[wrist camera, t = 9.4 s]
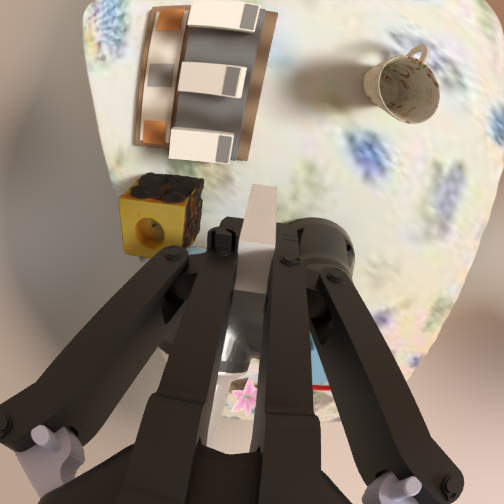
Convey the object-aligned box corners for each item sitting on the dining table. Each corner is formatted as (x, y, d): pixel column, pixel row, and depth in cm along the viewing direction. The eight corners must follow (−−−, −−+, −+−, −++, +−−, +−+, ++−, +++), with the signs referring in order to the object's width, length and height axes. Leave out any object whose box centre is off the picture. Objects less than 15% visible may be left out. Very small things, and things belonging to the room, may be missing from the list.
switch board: (247, 159, 40) (244, 166, 37) (137, 143, 39) (127, 149, 36) (277, 14, 26) (277, 8, 23) (155, 8, 26) (145, 3, 23)
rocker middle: (243, 97, 30) (236, 98, 28) (187, 90, 31) (177, 90, 29) (249, 68, 28) (242, 66, 26) (191, 62, 29) (181, 61, 27)
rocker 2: (229, 159, 37) (229, 164, 35) (172, 153, 35) (168, 158, 33) (233, 131, 34) (234, 135, 32) (174, 125, 33) (171, 129, 31)
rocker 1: (252, 34, 26) (254, 31, 24) (189, 27, 25) (187, 24, 23) (257, 9, 24) (260, 4, 22) (194, 1, 22) (193, -3, 20)
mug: (344, 92, 32) (365, 96, 24) (381, 29, 25) (410, 17, 17) (390, 123, 34) (420, 137, 26) (425, 62, 27) (462, 63, 19)
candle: (205, 178, 42) (186, 205, 34) (201, 232, 48) (184, 267, 40) (146, 170, 42) (117, 195, 34) (147, 222, 48) (123, 254, 40)
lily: (267, 392, 82) (274, 410, 73) (234, 404, 81) (238, 423, 71) (255, 366, 79) (261, 384, 70) (219, 380, 78) (222, 399, 69)
